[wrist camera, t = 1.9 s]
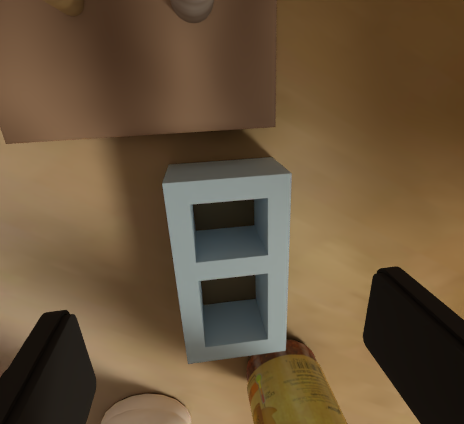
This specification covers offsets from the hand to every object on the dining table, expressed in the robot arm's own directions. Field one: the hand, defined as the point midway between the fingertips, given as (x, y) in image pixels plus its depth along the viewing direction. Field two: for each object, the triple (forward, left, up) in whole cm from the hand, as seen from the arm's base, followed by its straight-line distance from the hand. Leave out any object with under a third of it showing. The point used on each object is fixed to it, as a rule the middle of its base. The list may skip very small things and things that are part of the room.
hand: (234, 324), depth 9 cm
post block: (+3, -11, -11) cm, 16 cm away
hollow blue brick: (-1, +3, -11) cm, 11 cm away
